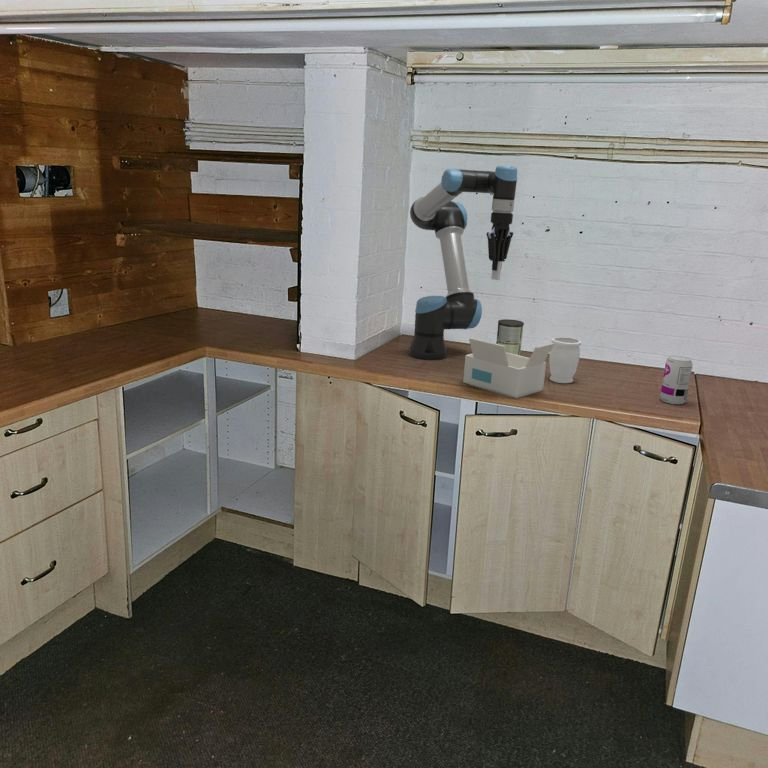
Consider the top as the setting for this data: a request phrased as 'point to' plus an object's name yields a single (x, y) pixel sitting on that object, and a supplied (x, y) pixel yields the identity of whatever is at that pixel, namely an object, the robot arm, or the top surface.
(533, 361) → the end flap
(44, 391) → the top surface
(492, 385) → the carton
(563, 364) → the jar
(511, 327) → the coffee can
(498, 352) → the front flap
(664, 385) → the supplement can
